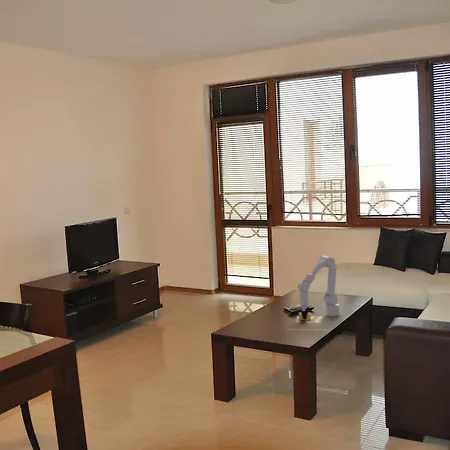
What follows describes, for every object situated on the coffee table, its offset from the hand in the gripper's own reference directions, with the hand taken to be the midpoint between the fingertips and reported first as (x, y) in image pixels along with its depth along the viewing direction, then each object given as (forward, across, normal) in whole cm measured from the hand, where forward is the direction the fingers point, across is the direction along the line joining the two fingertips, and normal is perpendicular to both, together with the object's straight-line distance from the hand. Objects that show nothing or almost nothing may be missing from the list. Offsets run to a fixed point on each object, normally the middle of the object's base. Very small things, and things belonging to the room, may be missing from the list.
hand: (305, 318), depth 388 cm
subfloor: (+2, 0, +3) cm, 4 cm away
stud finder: (+1, 0, 0) cm, 1 cm away
